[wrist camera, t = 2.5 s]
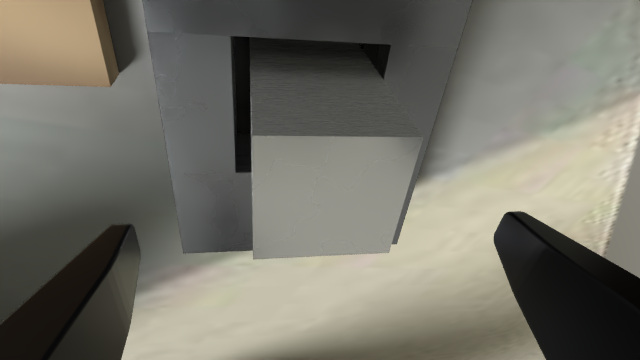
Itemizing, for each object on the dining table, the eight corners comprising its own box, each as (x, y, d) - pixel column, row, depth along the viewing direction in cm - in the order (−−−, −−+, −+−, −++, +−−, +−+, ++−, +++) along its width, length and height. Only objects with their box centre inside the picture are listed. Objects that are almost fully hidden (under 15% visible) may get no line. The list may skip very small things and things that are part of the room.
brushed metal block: (338, 122, 18) (388, 252, 12) (250, 121, 17) (252, 259, 11) (351, 33, 15) (423, 137, 9) (249, 28, 15) (252, 135, 8)
